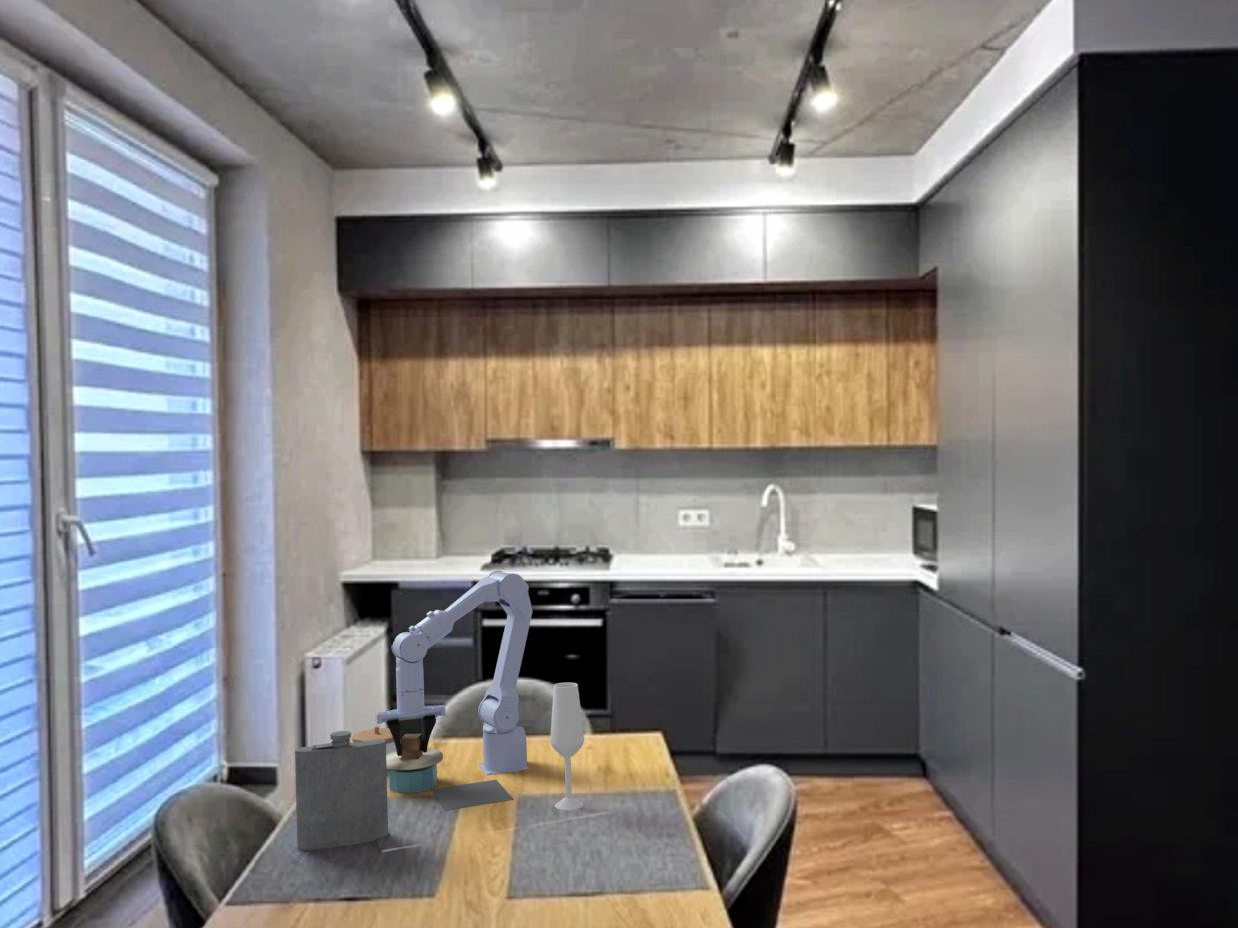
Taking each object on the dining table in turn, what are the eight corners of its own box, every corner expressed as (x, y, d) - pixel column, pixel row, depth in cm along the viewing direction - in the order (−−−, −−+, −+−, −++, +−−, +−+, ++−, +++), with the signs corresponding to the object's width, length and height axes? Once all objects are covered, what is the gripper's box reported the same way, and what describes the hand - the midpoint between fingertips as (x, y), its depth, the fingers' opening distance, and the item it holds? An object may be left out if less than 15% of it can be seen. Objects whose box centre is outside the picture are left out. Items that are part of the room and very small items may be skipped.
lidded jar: (394, 774, 211) (393, 732, 211) (347, 775, 211) (346, 733, 211) (406, 760, 222) (405, 720, 222) (361, 761, 222) (360, 721, 222)
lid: (449, 751, 209) (448, 727, 209) (433, 769, 196) (433, 744, 196) (391, 751, 210) (391, 728, 210) (372, 770, 197) (371, 745, 197)
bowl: (431, 776, 209) (431, 755, 209) (440, 789, 200) (440, 768, 200) (385, 782, 205) (384, 762, 205) (392, 796, 196) (392, 775, 196)
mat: (496, 781, 204) (496, 779, 204) (513, 801, 191) (513, 799, 191) (431, 790, 199) (431, 789, 199) (444, 812, 186) (444, 810, 186)
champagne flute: (592, 803, 189) (588, 682, 189) (574, 814, 183) (571, 689, 183) (563, 798, 192) (560, 680, 192) (545, 809, 186) (542, 687, 186)
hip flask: (387, 832, 176) (385, 724, 176) (389, 840, 172) (386, 730, 173) (297, 844, 172) (295, 733, 172) (296, 852, 168) (293, 739, 168)
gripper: (440, 681, 209) (441, 743, 209) (373, 689, 204) (374, 752, 204) (446, 688, 203) (448, 751, 203) (377, 695, 197) (379, 761, 197)
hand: (411, 752), depth 203 cm, fingers closed on lid, 5 cm apart
